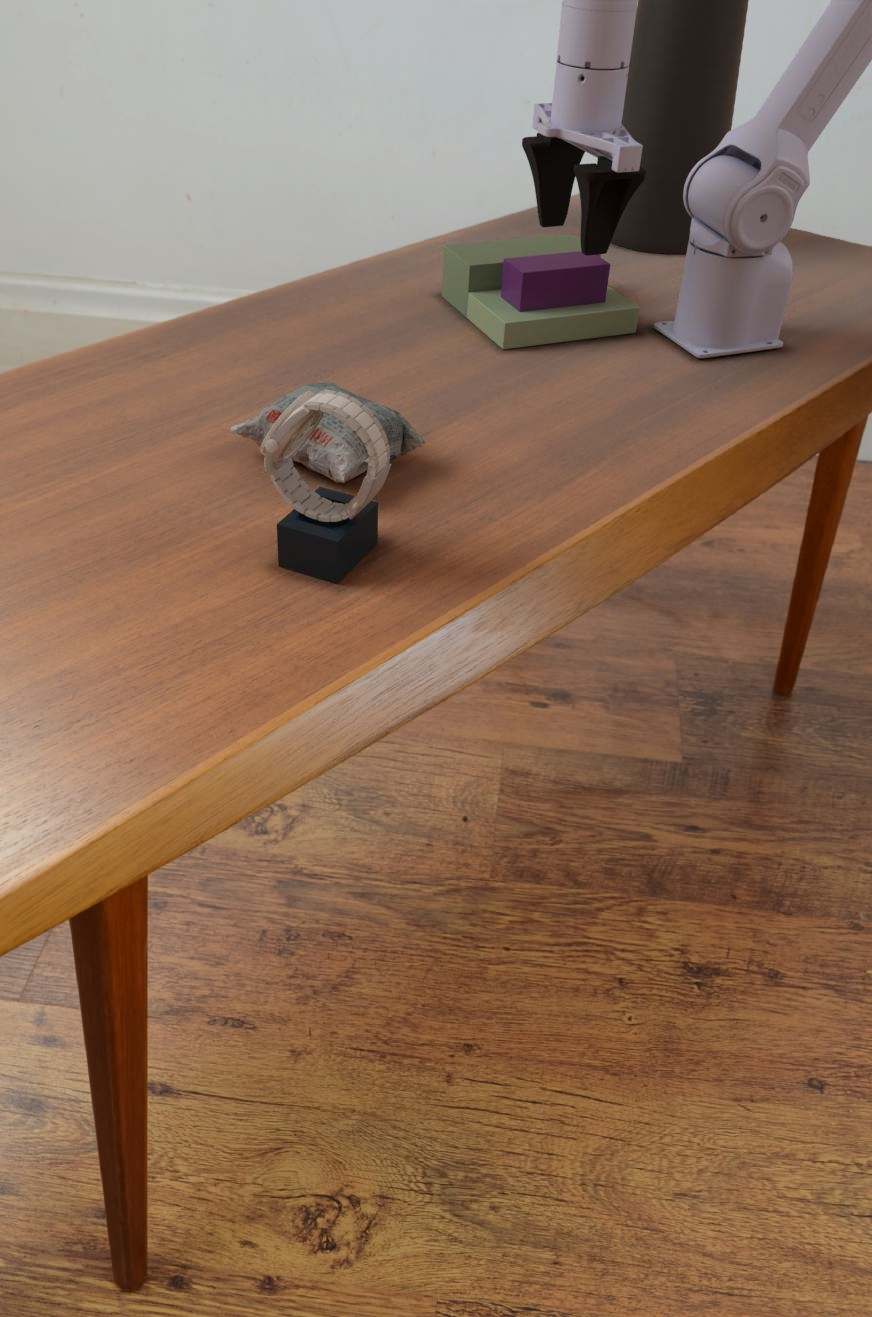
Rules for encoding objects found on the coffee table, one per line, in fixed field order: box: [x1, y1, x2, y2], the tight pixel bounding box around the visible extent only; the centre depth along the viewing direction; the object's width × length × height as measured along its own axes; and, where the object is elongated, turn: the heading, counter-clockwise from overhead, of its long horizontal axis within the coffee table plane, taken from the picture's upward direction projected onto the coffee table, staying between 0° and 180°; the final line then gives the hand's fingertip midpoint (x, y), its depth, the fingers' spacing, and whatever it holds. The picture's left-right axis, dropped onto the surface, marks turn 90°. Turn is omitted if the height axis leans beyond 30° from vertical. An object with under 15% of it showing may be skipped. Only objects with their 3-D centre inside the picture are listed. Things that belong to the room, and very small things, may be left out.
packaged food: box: [229, 381, 426, 484], centre depth 84 cm, size 9×12×5 cm
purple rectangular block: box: [501, 251, 611, 312], centre depth 106 cm, size 9×4×4 cm, turn 113°
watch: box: [259, 389, 392, 585], centre depth 72 cm, size 6×8×11 cm
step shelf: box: [441, 233, 641, 350], centre depth 110 cm, size 14×14×5 cm
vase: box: [611, 0, 749, 255], centre depth 124 cm, size 14×14×29 cm
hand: (572, 238), depth 98 cm, fingers open, 7 cm apart
